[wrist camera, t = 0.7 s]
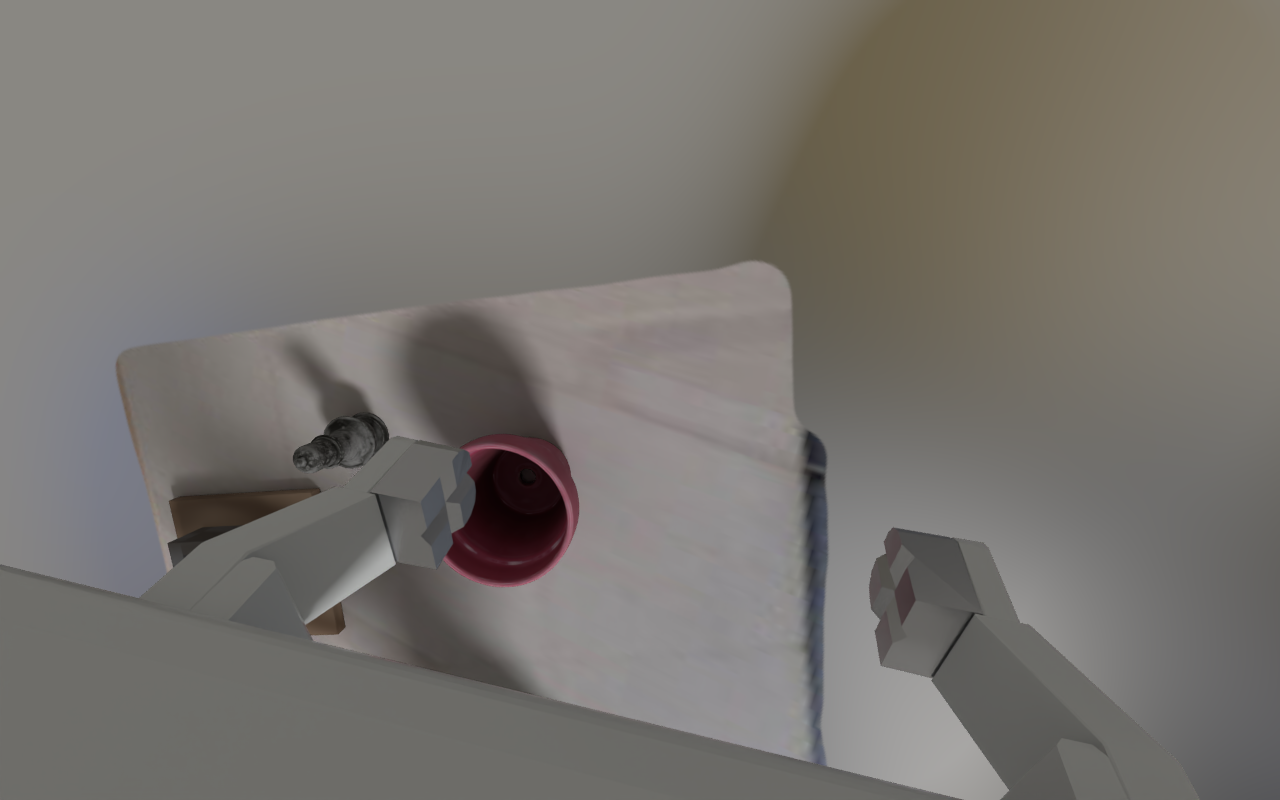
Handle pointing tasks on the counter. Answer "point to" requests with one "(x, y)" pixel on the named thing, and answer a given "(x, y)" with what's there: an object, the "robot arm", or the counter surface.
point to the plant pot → (515, 512)
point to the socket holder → (229, 512)
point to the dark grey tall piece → (343, 444)
